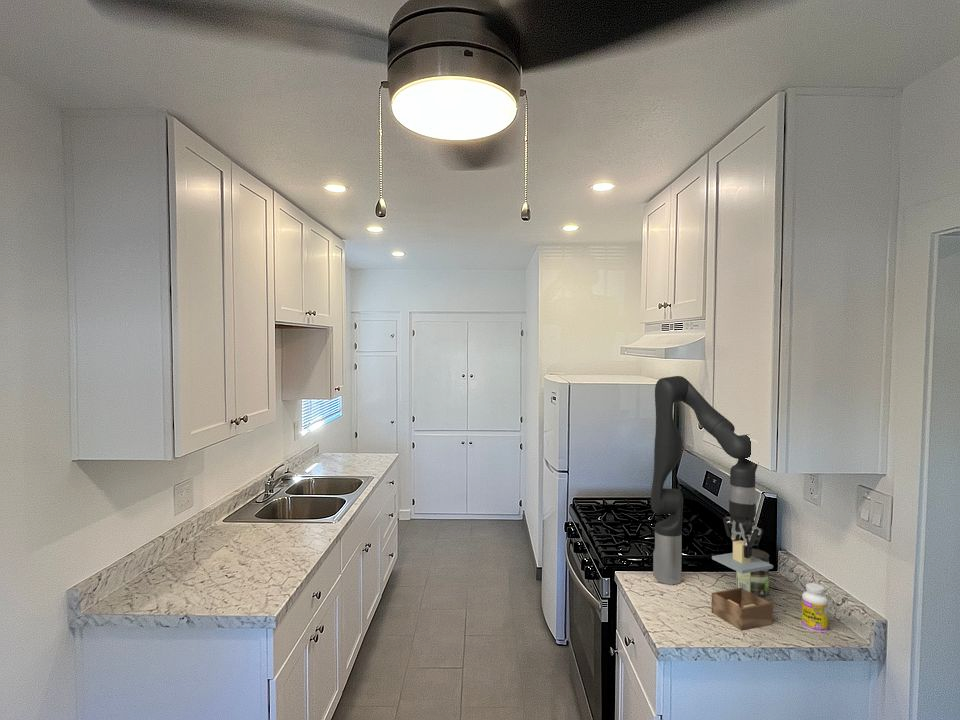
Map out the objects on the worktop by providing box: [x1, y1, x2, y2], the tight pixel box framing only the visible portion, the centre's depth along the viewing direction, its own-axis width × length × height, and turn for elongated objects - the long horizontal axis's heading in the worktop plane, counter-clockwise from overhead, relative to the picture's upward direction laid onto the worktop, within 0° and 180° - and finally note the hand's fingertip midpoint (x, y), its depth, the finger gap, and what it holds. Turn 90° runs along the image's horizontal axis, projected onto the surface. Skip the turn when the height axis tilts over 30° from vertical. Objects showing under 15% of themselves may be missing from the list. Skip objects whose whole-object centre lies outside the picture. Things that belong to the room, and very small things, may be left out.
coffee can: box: [735, 547, 770, 599], centre depth 185 cm, size 10×10×14 cm
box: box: [711, 588, 774, 632], centre depth 166 cm, size 12×12×7 cm
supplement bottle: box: [801, 582, 829, 633], centre depth 161 cm, size 7×7×13 cm
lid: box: [711, 539, 774, 574], centre depth 166 cm, size 12×12×7 cm
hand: (742, 554), depth 166 cm, fingers closed on lid, 3 cm apart
